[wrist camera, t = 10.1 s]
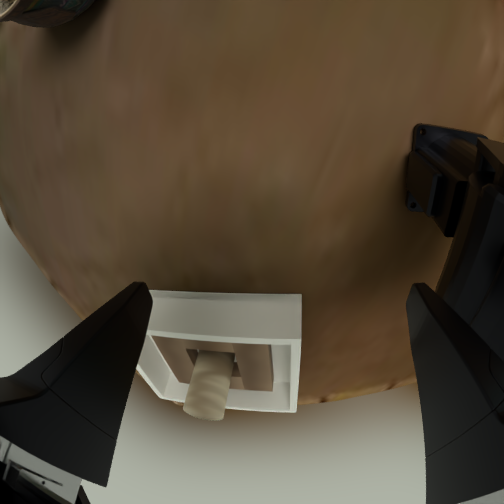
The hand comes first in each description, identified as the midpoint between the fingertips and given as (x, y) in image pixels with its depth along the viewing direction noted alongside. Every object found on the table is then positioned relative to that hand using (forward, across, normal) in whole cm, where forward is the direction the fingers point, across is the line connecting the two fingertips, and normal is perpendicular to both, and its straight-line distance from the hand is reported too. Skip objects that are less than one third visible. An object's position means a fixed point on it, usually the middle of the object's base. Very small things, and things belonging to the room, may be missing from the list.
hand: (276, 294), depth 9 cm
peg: (+11, +8, +20) cm, 24 cm away
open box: (+12, +8, +20) cm, 25 cm away
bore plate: (+11, +8, +20) cm, 24 cm away
